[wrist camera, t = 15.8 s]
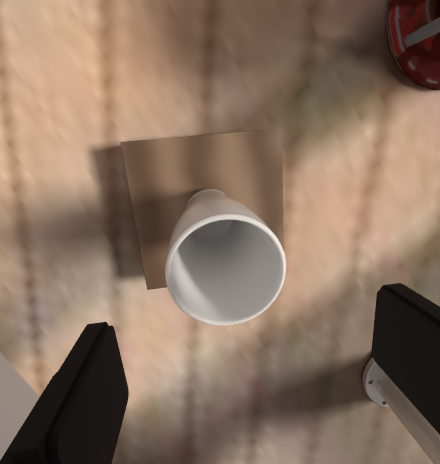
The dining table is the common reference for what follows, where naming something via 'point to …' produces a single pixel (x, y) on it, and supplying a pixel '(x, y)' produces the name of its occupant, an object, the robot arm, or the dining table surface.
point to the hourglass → (416, 39)
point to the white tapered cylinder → (223, 261)
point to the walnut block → (199, 184)
